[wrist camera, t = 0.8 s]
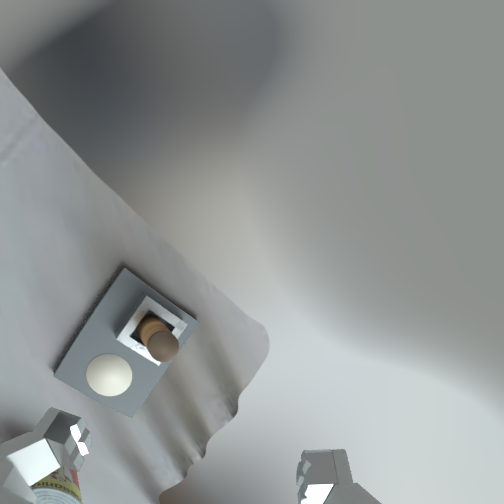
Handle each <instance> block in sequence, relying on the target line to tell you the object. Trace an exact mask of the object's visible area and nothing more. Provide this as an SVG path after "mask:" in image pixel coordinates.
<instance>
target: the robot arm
mask: <svg viewBox="0 0 504 504" xmlns="http://www.w3.org/2000/svg"><path fill="white" fill-rule="evenodd" d="M86 426H87V423H86V420H85V419H84V418H81V417H78V416H75V415H72V414H69V413H67V412H64V411H61V410H58V409H55V408H53V407H52V408H50V409H48V411H47V412H46V413H45V415H44V416H43V418H42V419H41V420H40V422H39V423H38V425H37V426H36V428H35V429H34V430H33V432H27V433H25V434H22V435H20V436H18V437H15V438H13V439H10V440H8V441H5V442H3V443H1V444H0V504H35V503H34V502H35V500H36V498H37V496H36V494H35V493H34V492H33V490H32V489H31V488H30V486H31V485H33V484H34V483H36V482H38V481H39V480H41V479H42V478H44V477H46V476H47V475H49V474H50V473H52V472H53V471H55V470H56V469H58V468H59V467H60V466H63V467H65V468H68V469H71V470H74V471H77V472H79V470H80V468H81V466H82V464H83V462H84V458H83V455H84V454H86V453H88V452H89V450H90V447H91V443H92V437H91V433H90V431H89V430H88V429H87V428H86ZM296 476H297V477H296V479H297V485H298V486H299V487H300V489H299V491H298V504H381V503H380V502H379V501H378V500H376V499H375V498H374V497H373V496H372V495H371V494H369V493H368V492H367V491H366V490H365V489H363V488H362V487H361V486H360V485H359V484H358V483H353V480H352V475H351V471H350V467H349V462H348V458H347V454H346V451H345V450H344V449H337V450H330V449H329V450H304V451H303V452H302V455H301V462H299V464H298V467H297V475H296Z"/></svg>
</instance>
